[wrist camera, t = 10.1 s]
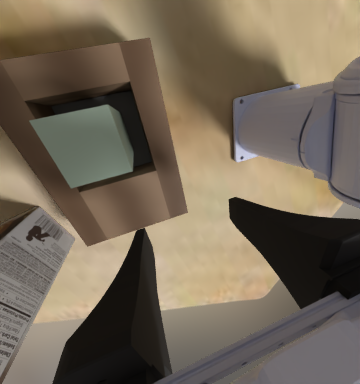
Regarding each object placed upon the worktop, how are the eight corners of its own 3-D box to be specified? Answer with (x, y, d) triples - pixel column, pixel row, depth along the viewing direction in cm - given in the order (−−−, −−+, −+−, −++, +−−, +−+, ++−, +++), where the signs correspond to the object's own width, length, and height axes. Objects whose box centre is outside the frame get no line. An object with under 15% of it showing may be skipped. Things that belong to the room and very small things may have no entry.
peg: (120, 112, 15) (107, 104, 8) (133, 151, 17) (132, 171, 10) (79, 121, 15) (29, 120, 8) (98, 160, 16) (70, 188, 9)
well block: (146, 58, 14) (149, 37, 11) (179, 197, 22) (187, 212, 18) (7, 81, 13) (-42, 66, 9) (95, 224, 20) (87, 246, 17)
